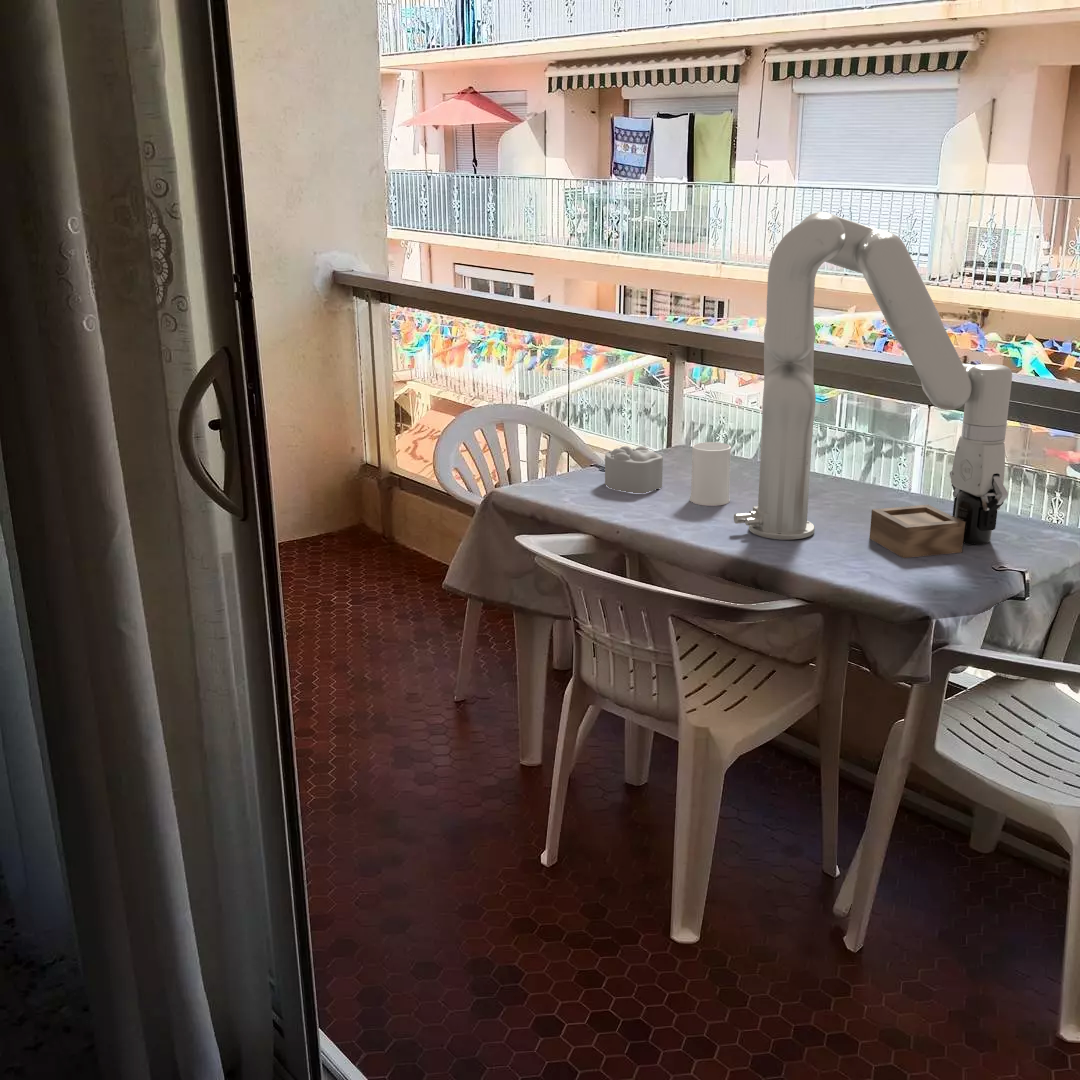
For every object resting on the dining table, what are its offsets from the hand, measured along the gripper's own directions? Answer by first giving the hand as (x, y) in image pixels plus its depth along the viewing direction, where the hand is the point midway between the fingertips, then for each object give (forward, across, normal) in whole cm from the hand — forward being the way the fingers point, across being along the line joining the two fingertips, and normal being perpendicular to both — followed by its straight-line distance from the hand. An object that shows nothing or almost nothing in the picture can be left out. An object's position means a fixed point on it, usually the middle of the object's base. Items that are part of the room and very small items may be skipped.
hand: (973, 523), depth 210 cm
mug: (+3, -40, -36) cm, 54 cm away
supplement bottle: (+4, 0, 0) cm, 4 cm away
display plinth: (+3, 0, -12) cm, 12 cm away
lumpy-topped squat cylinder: (+4, -55, -50) cm, 74 cm away
